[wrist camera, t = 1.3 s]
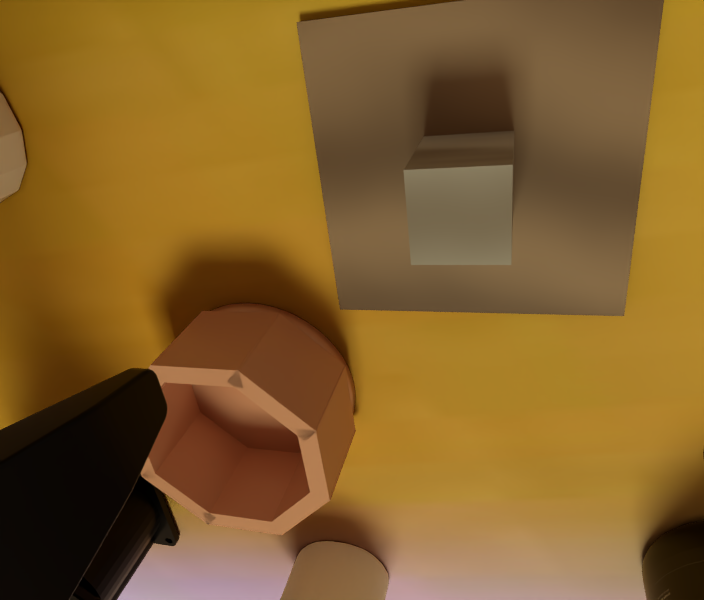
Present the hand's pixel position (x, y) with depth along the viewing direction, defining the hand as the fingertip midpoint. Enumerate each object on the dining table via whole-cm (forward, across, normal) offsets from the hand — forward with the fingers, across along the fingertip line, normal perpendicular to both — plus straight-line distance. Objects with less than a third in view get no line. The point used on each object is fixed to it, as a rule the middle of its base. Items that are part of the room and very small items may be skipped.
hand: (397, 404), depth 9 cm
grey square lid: (+14, 0, 0) cm, 14 cm away
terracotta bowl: (+13, +10, +10) cm, 19 cm away
